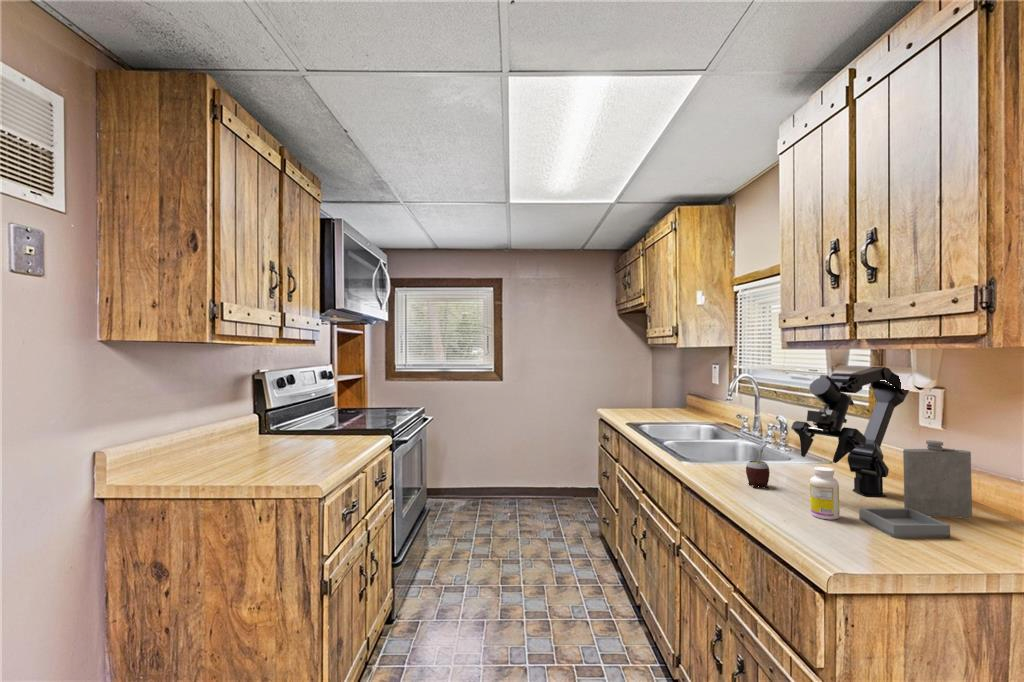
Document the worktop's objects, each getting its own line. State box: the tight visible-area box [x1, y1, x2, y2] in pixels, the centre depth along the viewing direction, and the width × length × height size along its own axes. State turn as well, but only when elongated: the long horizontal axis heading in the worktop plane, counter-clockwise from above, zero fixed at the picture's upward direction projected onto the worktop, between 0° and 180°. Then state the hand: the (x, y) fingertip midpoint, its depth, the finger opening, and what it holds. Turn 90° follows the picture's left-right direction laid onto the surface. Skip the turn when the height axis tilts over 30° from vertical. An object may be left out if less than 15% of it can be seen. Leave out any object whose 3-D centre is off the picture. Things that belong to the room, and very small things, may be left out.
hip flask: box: [902, 439, 973, 519], centre depth 138 cm, size 16×4×20 cm, turn 82°
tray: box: [858, 507, 951, 539], centre depth 128 cm, size 13×13×3 cm
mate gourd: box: [745, 443, 770, 489], centre depth 167 cm, size 8×8×15 cm
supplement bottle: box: [809, 466, 840, 521], centre depth 138 cm, size 7×7×13 cm
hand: (818, 459), depth 147 cm, fingers open, 9 cm apart
